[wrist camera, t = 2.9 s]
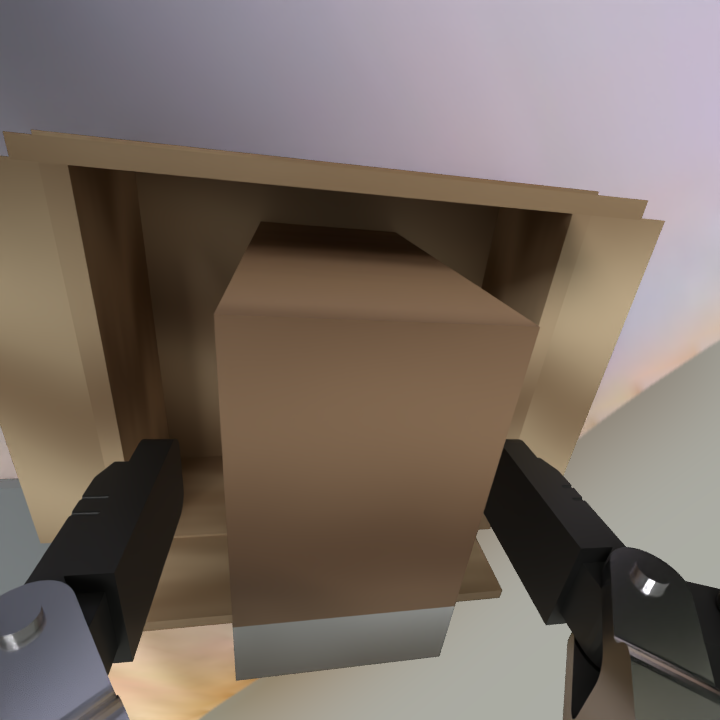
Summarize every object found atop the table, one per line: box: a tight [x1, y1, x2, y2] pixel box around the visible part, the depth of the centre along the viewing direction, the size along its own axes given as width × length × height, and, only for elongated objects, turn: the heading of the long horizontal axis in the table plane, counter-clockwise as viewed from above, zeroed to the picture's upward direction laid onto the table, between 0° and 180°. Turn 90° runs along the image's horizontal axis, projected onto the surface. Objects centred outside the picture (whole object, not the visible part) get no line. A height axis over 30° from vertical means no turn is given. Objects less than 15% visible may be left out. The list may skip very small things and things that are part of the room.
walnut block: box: [214, 221, 540, 681], centre depth 12 cm, size 9×5×10 cm, turn 175°
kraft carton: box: [0, 130, 665, 631], centre depth 14 cm, size 13×19×8 cm
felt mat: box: [0, 479, 51, 596], centre depth 20 cm, size 9×9×1 cm
